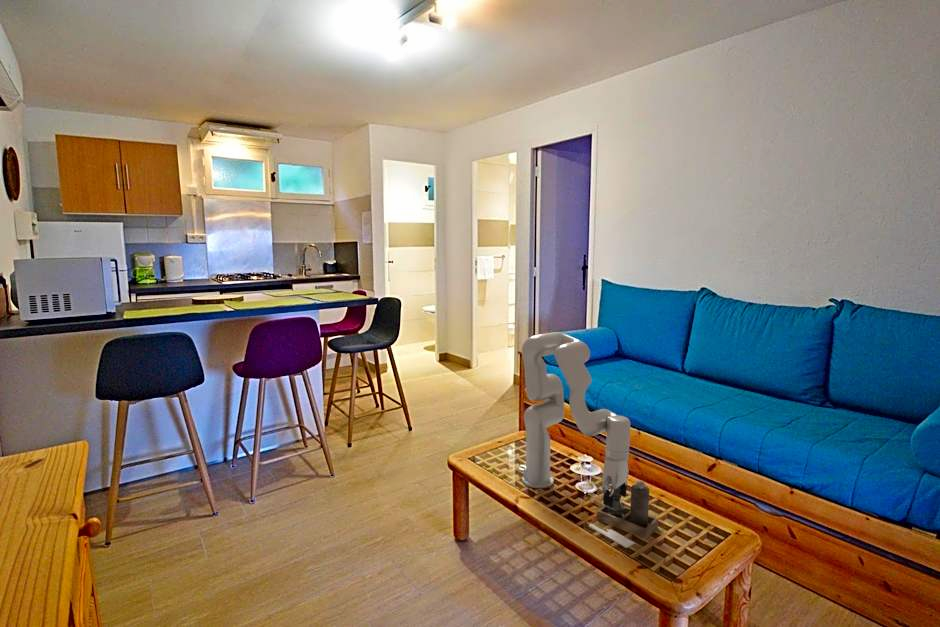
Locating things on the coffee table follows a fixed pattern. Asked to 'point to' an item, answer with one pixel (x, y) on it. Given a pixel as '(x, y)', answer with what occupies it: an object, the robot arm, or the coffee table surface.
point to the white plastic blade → (614, 536)
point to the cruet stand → (633, 514)
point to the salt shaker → (616, 504)
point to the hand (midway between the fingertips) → (614, 500)
